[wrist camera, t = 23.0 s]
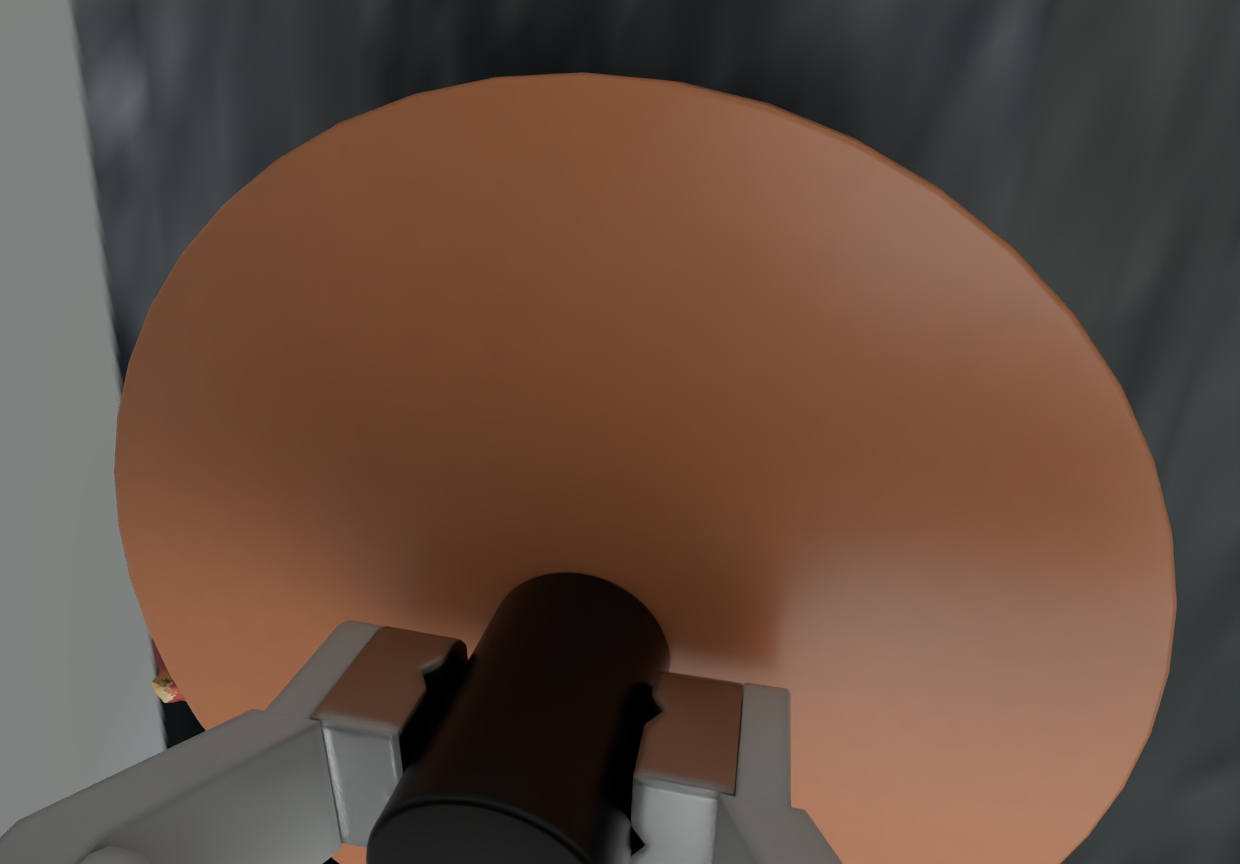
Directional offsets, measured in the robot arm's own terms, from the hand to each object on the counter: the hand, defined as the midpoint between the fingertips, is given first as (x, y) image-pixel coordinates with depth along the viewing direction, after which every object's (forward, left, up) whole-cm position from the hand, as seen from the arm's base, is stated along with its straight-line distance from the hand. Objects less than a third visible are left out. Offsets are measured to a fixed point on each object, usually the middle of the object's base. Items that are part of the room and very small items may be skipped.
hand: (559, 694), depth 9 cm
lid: (0, 0, -2) cm, 2 cm away
